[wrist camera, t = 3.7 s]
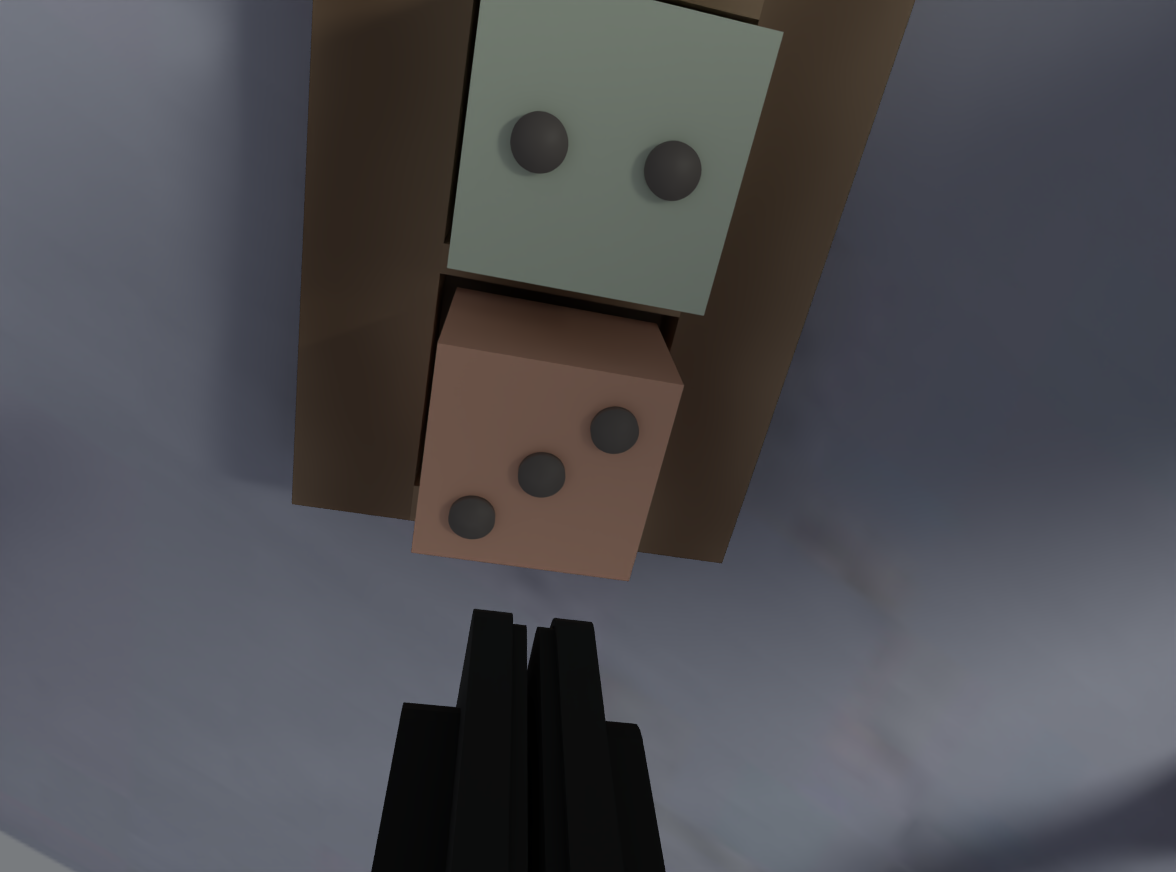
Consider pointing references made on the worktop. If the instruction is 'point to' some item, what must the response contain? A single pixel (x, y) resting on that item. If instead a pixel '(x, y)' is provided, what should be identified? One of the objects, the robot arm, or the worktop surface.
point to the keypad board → (426, 286)
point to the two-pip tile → (607, 146)
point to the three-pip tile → (543, 436)
